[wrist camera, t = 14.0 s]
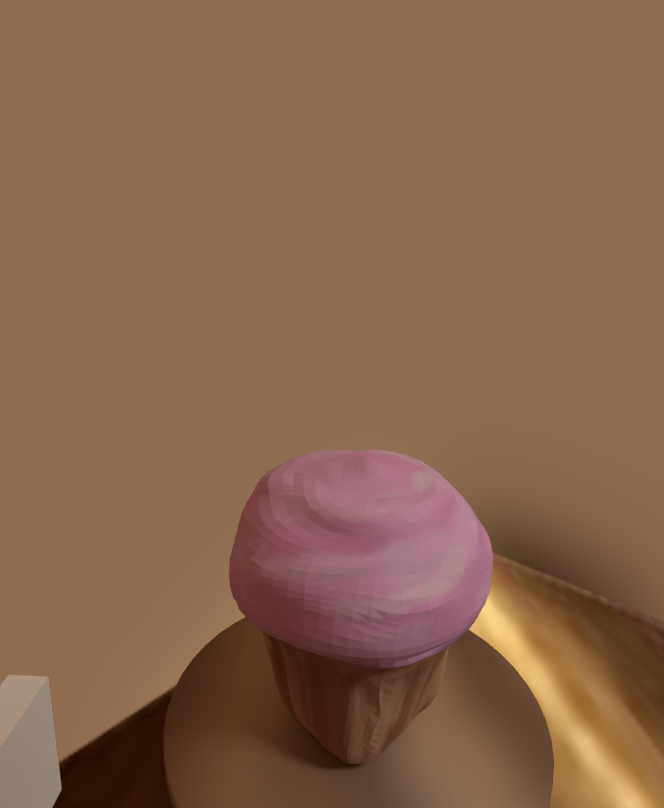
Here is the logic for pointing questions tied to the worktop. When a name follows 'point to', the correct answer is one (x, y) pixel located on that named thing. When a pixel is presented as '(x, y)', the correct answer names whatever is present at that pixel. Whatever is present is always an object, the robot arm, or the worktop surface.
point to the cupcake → (359, 589)
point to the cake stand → (322, 770)
